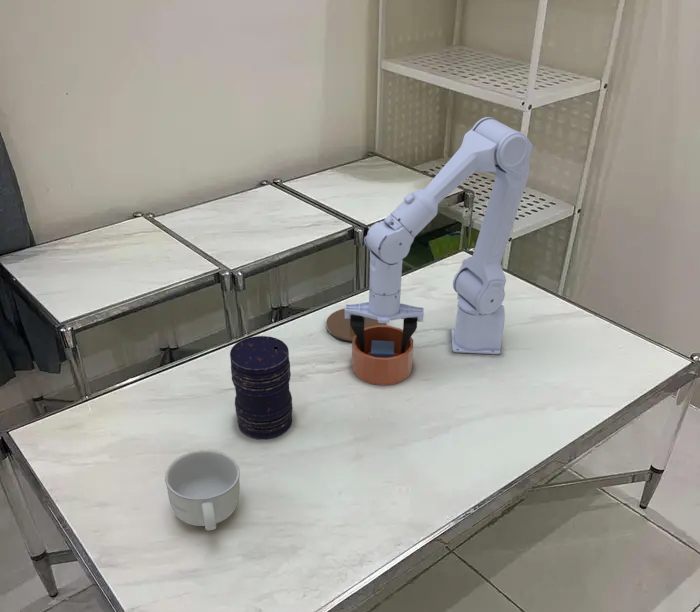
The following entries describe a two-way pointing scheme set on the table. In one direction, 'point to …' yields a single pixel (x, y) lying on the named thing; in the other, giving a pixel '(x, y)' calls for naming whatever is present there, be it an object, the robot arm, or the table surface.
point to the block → (382, 349)
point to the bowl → (382, 368)
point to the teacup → (203, 487)
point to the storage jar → (262, 386)
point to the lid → (345, 325)
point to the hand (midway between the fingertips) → (382, 349)
